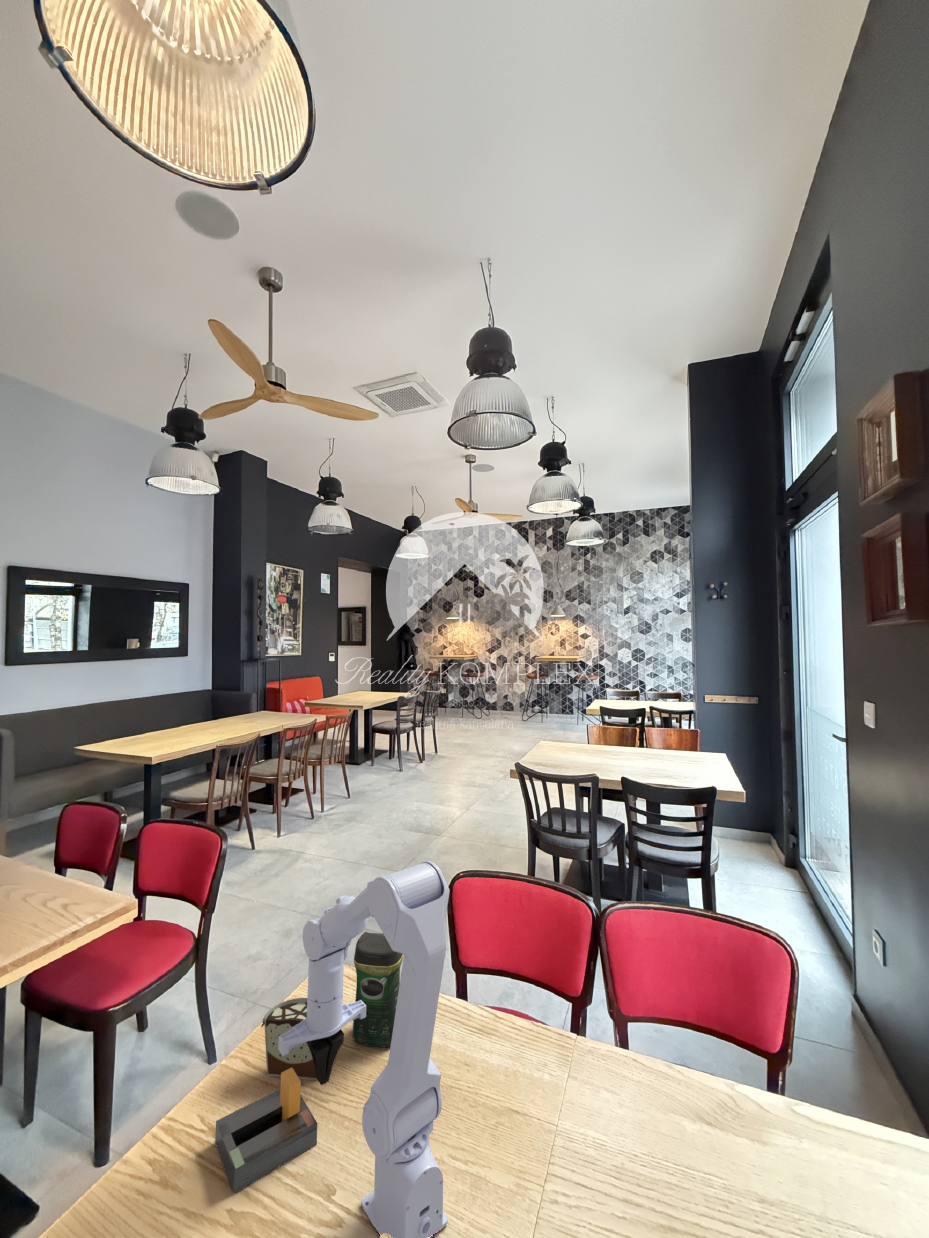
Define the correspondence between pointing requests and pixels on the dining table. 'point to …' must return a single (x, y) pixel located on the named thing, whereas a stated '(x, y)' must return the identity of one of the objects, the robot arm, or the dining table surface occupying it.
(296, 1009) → the food container
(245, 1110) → the switch box
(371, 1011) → the coffee jar
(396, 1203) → the robot arm
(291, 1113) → the lever
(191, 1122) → the dining table surface
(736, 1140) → the dining table surface
